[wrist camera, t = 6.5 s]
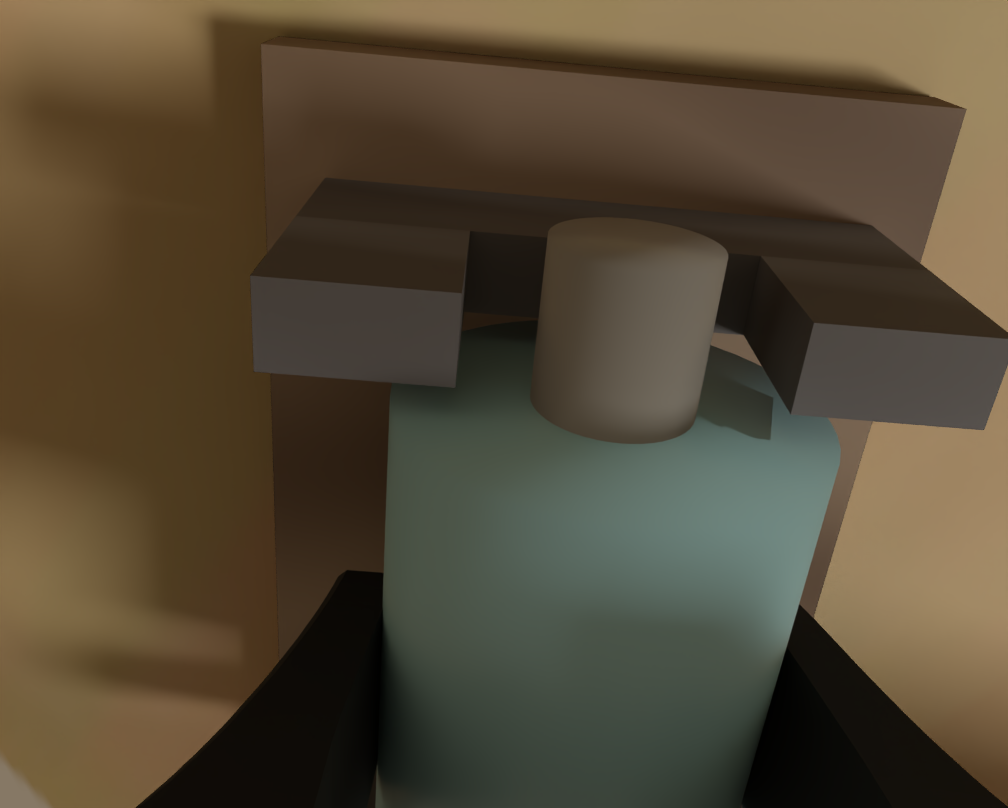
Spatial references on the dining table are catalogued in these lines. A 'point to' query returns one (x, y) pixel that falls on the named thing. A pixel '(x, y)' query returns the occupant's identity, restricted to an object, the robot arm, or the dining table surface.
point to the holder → (523, 240)
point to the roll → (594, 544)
